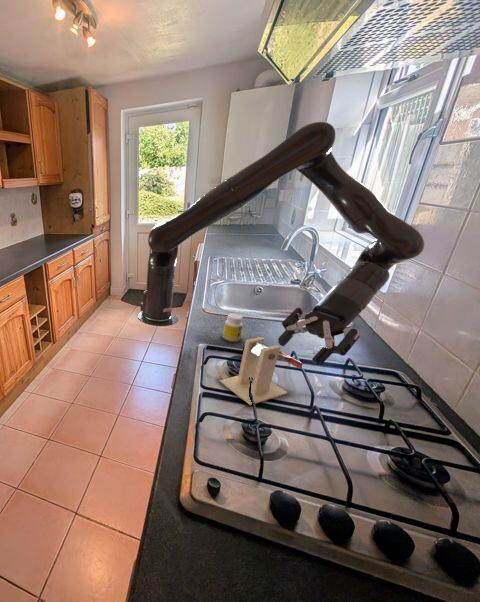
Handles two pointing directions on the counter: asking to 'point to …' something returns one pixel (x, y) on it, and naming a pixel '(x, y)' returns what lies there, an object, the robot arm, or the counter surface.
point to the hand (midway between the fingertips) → (296, 352)
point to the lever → (281, 355)
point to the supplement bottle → (233, 328)
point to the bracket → (256, 374)
